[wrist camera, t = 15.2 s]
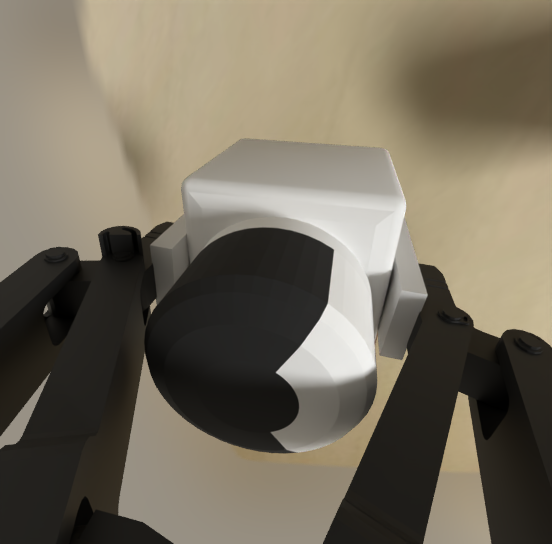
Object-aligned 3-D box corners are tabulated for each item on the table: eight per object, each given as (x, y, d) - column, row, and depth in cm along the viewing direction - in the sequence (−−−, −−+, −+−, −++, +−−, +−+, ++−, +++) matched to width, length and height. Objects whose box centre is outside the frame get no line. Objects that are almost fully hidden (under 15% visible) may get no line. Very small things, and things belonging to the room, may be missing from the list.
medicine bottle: (242, 263, 21) (135, 455, 11) (238, 136, 17) (71, 249, 7) (365, 278, 20) (374, 507, 10) (390, 146, 16) (447, 297, 6)
